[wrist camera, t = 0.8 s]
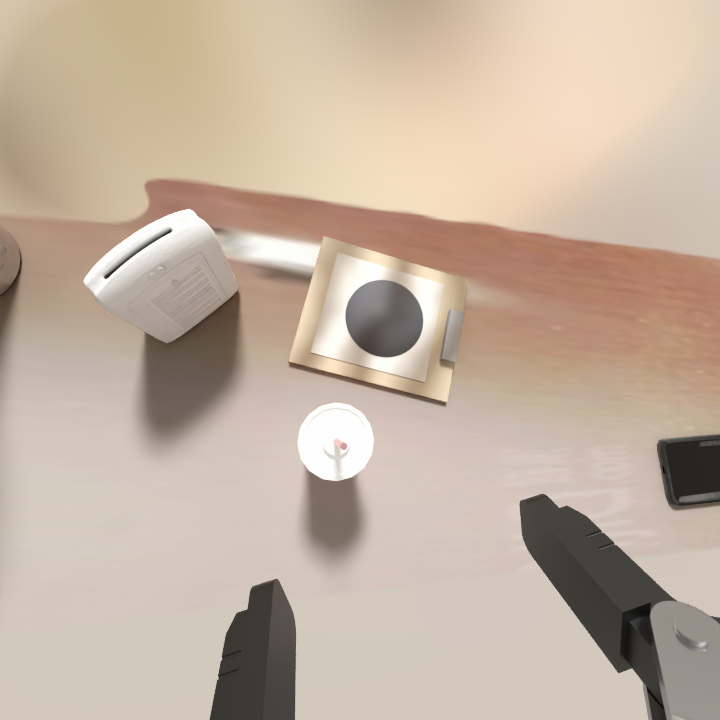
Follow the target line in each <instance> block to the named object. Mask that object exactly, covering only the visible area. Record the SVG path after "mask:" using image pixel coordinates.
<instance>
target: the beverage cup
mask: <svg viewBox="0 0 720 720" xmlns="http://www.w3.org/2000/svg"><path fill="white" fill-rule="evenodd" d="M373 442H374V437H373V433H372V429H371V425H370V423H369V422H368V420H367V419H366V418H365V416H364V415H363V413H362V412H360V411H359V410H357V409H355V408H354V407H352V406H351V405H347V404H341V403H331V404H327V405H323V406H320V407H319V408H317V409H316V410H314V411H313V412H312V413H310V414H309V415H308V416H307V418H306V419H305V421H304V423H303V424H302V426H301V427H300V431H299V437H298V442H297V444H298V449H299V454H300V458H301V460H302V461H303V463H304V464H305V466H306V467H307V468H308V470H309V471H310V472H312V473H313V474H315V475H316V476H318V477H320V478H321V479H325V480H332V481H340V480H344V479H347V478H351V477H353V476H354V475H355V474H357V473H358V472H359V471H360V470H362V469H363V468H364V467H365V465H366V464H367V462H368V460H369V458H370V456H371V455H372V449H373Z"/></svg>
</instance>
